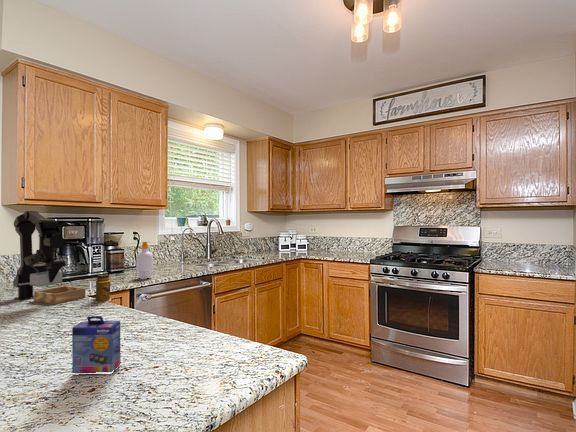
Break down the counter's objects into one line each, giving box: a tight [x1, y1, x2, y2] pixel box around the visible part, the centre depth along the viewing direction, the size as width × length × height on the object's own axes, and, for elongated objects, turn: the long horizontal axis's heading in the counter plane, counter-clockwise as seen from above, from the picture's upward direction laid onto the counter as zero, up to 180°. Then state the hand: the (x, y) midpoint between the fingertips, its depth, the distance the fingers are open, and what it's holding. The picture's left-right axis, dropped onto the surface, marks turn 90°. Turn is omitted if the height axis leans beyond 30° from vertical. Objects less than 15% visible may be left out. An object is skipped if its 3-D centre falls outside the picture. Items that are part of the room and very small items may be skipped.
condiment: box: [90, 274, 112, 303], centre depth 162 cm, size 7×8×12 cm
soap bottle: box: [135, 241, 154, 280], centre depth 222 cm, size 10×10×24 cm
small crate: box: [30, 271, 63, 288], centre depth 153 cm, size 10×6×5 cm, turn 155°
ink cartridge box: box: [71, 315, 122, 374], centre depth 86 cm, size 10×6×14 cm, turn 95°
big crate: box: [33, 285, 86, 305], centre depth 164 cm, size 15×15×4 cm
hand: (46, 281), depth 153 cm, fingers closed on small crate, 6 cm apart
